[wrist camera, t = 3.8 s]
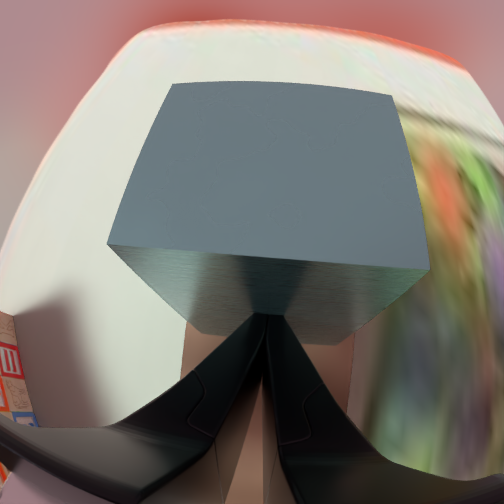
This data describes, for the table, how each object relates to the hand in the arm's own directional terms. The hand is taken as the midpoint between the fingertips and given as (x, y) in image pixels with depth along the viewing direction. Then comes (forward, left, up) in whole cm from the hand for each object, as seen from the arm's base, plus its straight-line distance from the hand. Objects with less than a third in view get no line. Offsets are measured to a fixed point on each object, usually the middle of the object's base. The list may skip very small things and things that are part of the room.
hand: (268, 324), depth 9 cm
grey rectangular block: (+2, -2, -5) cm, 5 cm away
